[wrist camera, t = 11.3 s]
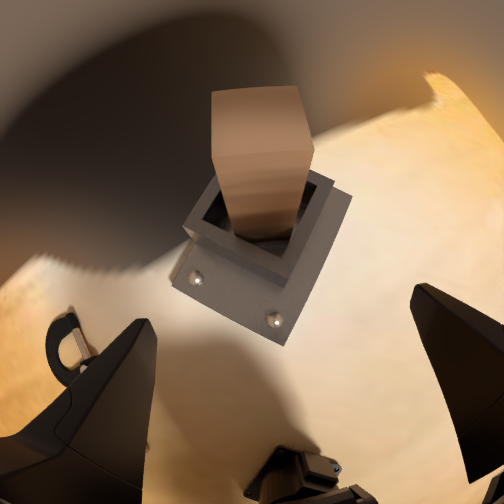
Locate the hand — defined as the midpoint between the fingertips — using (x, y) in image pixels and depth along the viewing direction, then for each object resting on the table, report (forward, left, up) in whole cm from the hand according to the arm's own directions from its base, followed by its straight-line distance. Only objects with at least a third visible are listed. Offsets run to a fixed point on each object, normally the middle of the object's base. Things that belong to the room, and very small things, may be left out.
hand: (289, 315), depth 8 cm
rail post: (+7, +5, -13) cm, 15 cm away
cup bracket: (+6, +4, -14) cm, 15 cm away
